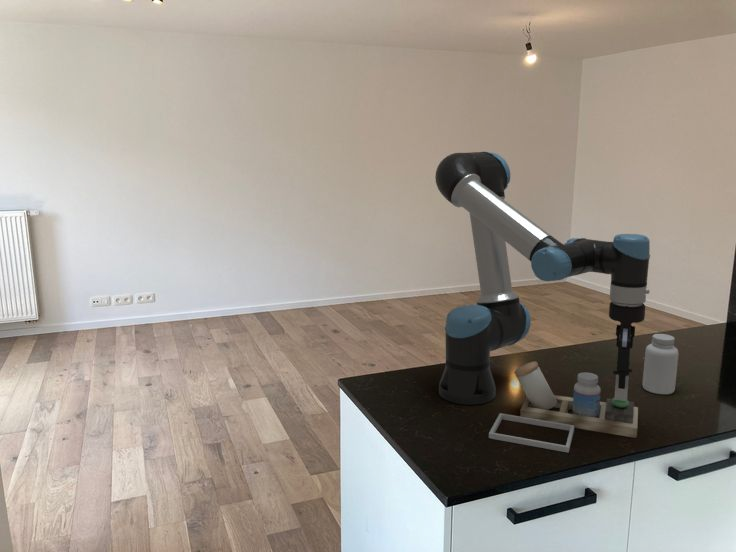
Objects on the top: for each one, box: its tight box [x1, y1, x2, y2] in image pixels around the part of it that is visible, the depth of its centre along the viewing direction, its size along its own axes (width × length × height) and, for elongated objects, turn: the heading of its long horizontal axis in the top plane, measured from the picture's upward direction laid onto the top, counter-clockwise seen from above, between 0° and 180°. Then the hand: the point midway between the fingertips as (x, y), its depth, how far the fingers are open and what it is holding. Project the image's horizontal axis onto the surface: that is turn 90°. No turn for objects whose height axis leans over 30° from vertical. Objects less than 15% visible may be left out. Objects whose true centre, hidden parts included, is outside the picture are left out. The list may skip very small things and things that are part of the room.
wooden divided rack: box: [519, 394, 639, 439], centre depth 144 cm, size 26×12×4 cm, turn 65°
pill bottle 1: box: [572, 372, 602, 418], centre depth 142 cm, size 6×6×11 cm
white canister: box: [514, 361, 557, 410], centre depth 148 cm, size 6×6×11 cm
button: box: [611, 396, 629, 409], centre depth 140 cm, size 4×4×3 cm
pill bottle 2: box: [642, 333, 679, 395], centre depth 158 cm, size 8×8×15 cm
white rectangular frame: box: [488, 412, 575, 453], centre depth 136 cm, size 17×11×1 cm, turn 65°
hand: (620, 399), depth 139 cm, fingers closed
